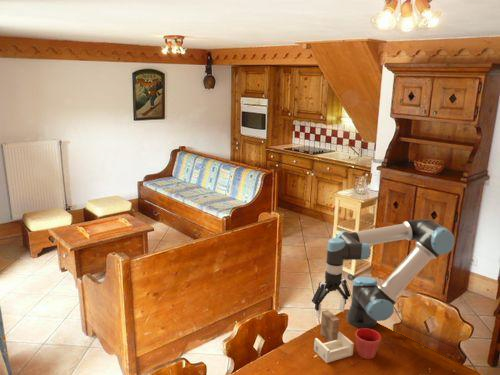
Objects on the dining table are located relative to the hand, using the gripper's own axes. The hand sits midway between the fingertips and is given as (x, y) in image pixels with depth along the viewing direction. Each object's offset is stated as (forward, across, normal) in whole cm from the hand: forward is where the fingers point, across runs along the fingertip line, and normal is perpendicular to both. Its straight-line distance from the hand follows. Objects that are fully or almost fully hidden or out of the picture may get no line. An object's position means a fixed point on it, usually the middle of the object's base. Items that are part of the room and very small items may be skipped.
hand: (329, 313), depth 204 cm
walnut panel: (+13, 0, 0) cm, 13 cm away
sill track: (+13, +4, +11) cm, 17 cm away
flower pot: (+13, -9, +17) cm, 23 cm away
